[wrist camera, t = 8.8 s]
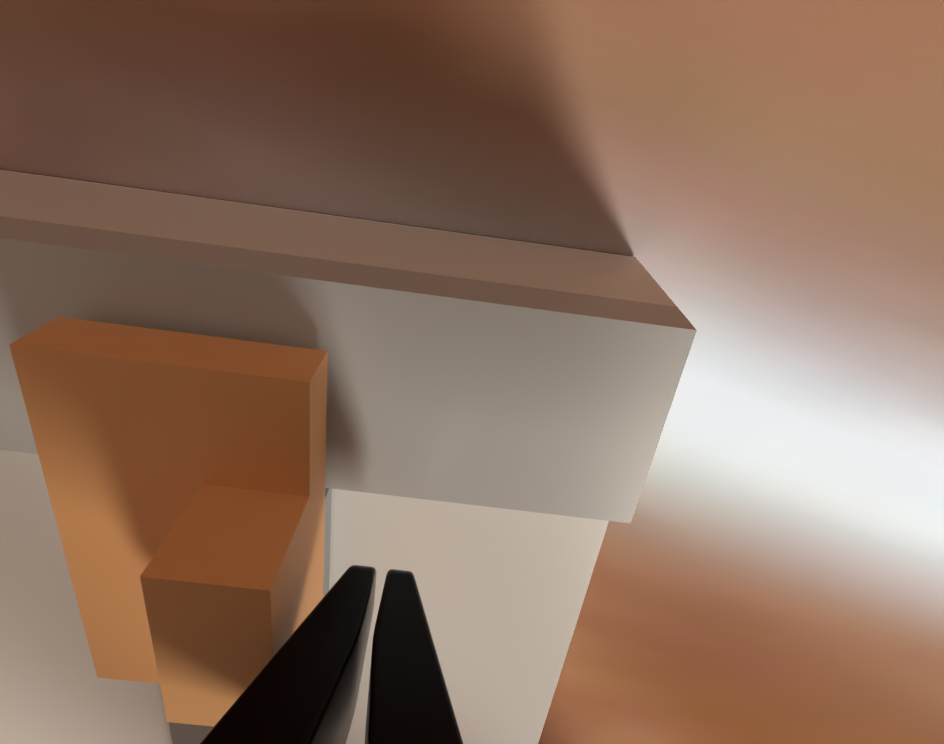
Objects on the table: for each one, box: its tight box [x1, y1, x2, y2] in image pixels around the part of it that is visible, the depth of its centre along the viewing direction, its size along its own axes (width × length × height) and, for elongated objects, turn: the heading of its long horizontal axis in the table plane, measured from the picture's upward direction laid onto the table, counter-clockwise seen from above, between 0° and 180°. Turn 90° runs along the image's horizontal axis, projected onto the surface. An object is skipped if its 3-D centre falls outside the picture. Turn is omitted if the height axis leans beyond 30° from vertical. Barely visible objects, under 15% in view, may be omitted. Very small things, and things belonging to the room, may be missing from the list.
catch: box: [9, 317, 328, 727], centre depth 9 cm, size 7×4×3 cm, turn 172°
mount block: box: [0, 170, 696, 744], centre depth 14 cm, size 21×15×6 cm
